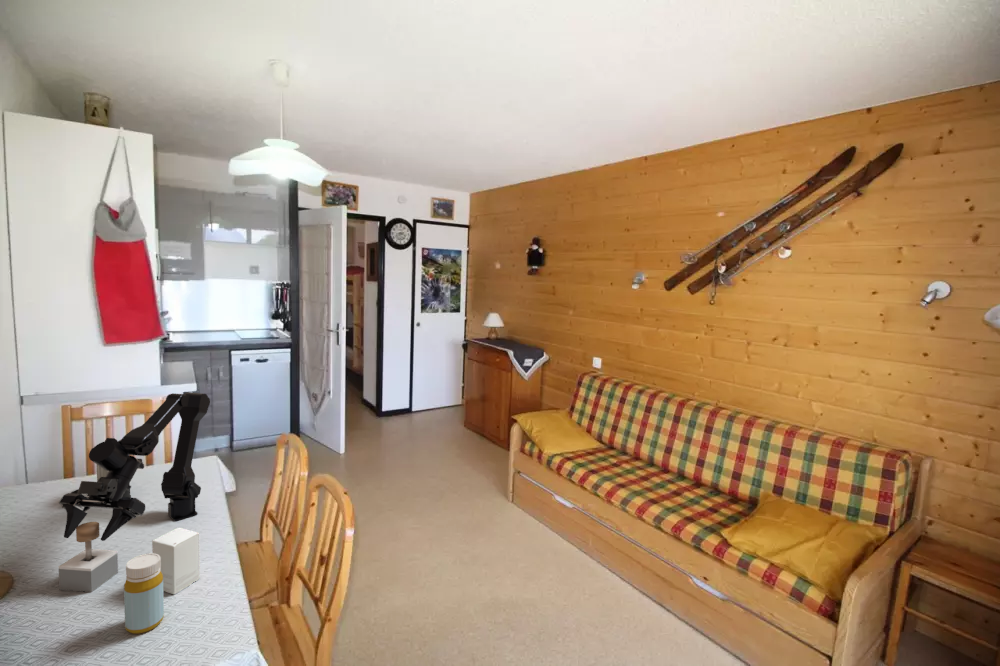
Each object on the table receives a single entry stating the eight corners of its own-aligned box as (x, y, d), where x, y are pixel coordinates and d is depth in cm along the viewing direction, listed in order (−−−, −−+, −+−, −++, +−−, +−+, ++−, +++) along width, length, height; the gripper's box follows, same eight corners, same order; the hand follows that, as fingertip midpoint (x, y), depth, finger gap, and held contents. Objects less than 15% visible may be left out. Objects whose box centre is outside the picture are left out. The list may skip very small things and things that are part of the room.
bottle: (138, 613, 114) (136, 552, 112) (170, 613, 114) (169, 552, 113) (117, 635, 107) (115, 570, 105) (151, 635, 107) (150, 570, 106)
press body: (87, 570, 128) (86, 548, 127) (117, 572, 128) (117, 550, 127) (59, 589, 120) (58, 566, 119) (91, 592, 120) (90, 568, 119)
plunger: (87, 554, 126) (86, 521, 125) (104, 556, 125) (103, 522, 125) (72, 564, 121) (71, 529, 120) (90, 566, 121) (88, 531, 120)
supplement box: (200, 579, 127) (200, 532, 126) (173, 595, 120) (173, 546, 119) (179, 571, 130) (179, 526, 128) (151, 588, 123) (151, 539, 121)
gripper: (64, 462, 125) (22, 525, 115) (136, 467, 125) (101, 531, 115) (91, 480, 134) (55, 540, 124) (159, 485, 133) (128, 545, 124)
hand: (84, 539), depth 121 cm, fingers open, 9 cm apart
